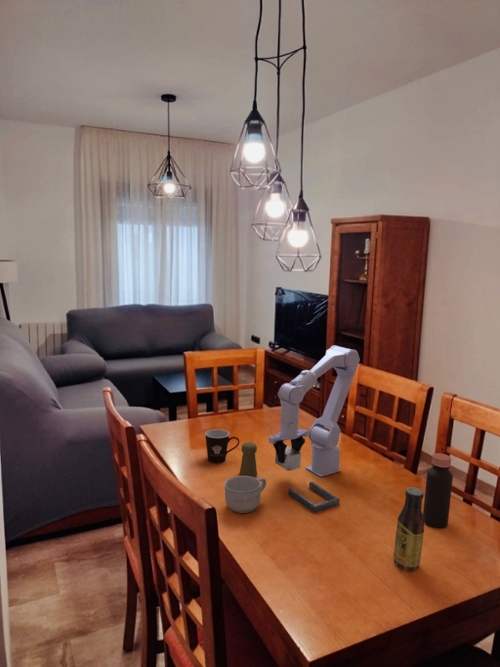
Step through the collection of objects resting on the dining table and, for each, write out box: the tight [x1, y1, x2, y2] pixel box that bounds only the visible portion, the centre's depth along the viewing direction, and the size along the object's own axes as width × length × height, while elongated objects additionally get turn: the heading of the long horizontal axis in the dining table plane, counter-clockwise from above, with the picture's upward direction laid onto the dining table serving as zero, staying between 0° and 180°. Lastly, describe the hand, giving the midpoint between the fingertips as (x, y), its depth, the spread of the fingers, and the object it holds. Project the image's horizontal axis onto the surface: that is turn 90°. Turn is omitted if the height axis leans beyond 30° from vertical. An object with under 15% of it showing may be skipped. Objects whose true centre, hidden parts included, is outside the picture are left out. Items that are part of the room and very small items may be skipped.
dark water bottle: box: [422, 452, 454, 530], centre depth 137 cm, size 7×7×20 cm
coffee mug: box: [204, 428, 240, 465], centre depth 175 cm, size 12×9×10 cm
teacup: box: [223, 475, 267, 514], centre depth 144 cm, size 14×11×8 cm
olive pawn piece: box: [239, 441, 258, 478], centre depth 165 cm, size 6×6×11 cm
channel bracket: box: [287, 481, 341, 514], centre depth 149 cm, size 10×13×2 cm
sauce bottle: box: [393, 486, 425, 573], centre depth 117 cm, size 7×6×20 cm
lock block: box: [274, 445, 302, 472], centre depth 160 cm, size 5×7×5 cm
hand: (287, 460), depth 160 cm, fingers closed on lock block, 5 cm apart
